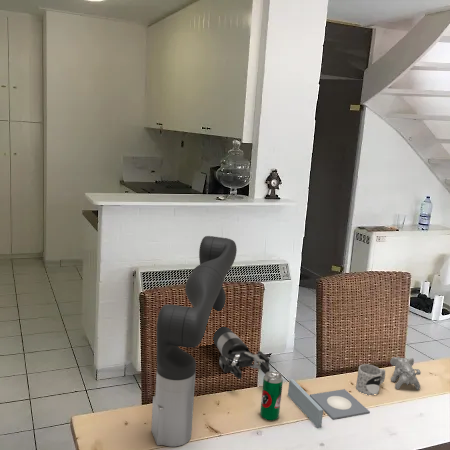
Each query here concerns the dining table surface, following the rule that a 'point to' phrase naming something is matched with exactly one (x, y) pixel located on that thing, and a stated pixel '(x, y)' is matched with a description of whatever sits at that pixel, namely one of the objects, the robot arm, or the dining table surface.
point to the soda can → (271, 395)
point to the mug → (369, 379)
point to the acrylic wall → (305, 403)
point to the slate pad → (339, 404)
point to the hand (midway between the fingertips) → (254, 373)
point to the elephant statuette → (404, 372)
